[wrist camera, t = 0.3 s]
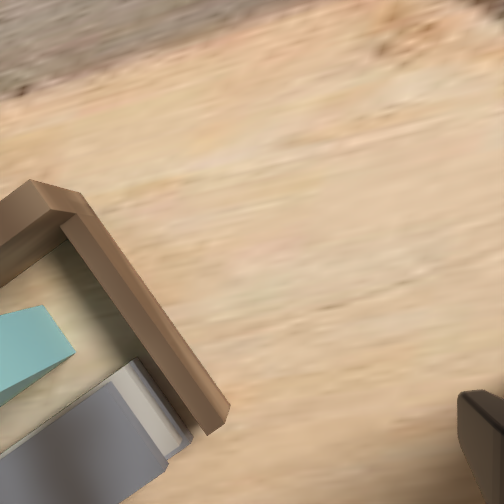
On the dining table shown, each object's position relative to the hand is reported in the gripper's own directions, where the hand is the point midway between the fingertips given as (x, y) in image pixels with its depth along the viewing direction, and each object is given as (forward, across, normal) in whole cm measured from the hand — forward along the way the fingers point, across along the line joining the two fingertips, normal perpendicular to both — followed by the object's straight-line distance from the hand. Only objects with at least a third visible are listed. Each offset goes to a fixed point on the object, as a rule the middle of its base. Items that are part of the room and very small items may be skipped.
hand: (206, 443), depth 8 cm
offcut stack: (+14, +9, +10) cm, 20 cm away
